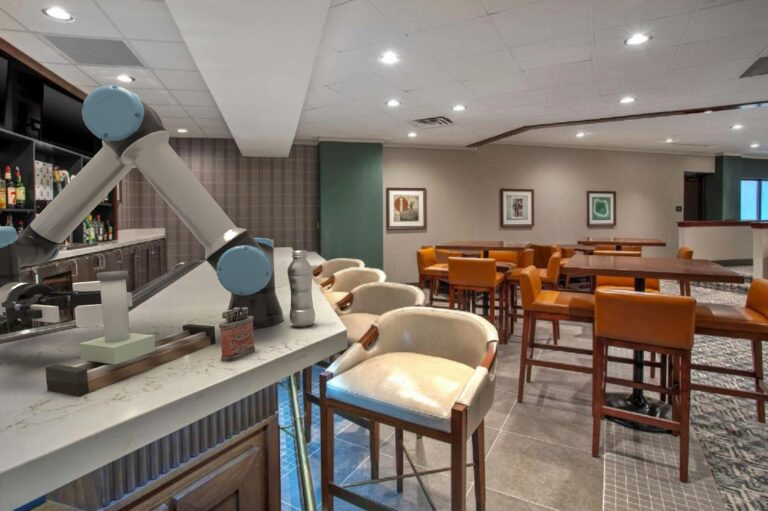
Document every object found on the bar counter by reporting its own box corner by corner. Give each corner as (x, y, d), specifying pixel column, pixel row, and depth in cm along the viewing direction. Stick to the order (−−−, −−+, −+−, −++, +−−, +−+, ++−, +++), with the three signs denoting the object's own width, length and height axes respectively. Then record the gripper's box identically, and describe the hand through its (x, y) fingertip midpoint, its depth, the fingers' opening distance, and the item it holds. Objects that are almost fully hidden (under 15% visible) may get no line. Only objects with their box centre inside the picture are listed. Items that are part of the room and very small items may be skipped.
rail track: (189, 340, 97) (188, 323, 97) (215, 343, 95) (214, 326, 94) (47, 390, 70) (45, 367, 69) (78, 396, 67) (76, 372, 66)
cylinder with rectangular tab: (74, 329, 111) (70, 285, 110) (78, 322, 119) (74, 281, 118) (113, 324, 116) (110, 282, 114) (115, 318, 123) (112, 278, 122)
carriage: (122, 346, 82) (116, 269, 81) (155, 350, 79) (149, 270, 78) (80, 359, 75) (73, 274, 74) (115, 364, 72) (107, 276, 70)
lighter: (247, 349, 90) (245, 303, 89) (258, 350, 88) (256, 305, 87) (217, 360, 83) (214, 311, 82) (229, 362, 81) (226, 313, 80)
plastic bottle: (310, 329, 105) (307, 251, 103) (285, 328, 106) (281, 251, 104) (319, 323, 111) (316, 249, 109) (295, 322, 112) (292, 249, 110)
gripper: (90, 306, 97) (156, 311, 89) (-52, 335, 74) (20, 345, 66) (87, 275, 96) (153, 277, 89) (-57, 293, 73) (15, 299, 66)
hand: (96, 306), depth 77 cm, fingers open, 13 cm apart
